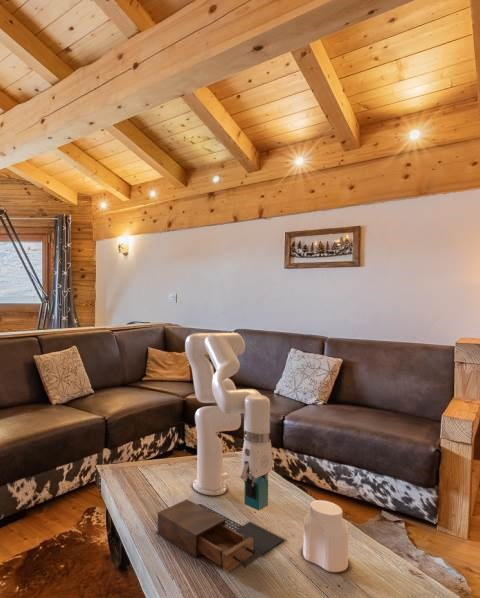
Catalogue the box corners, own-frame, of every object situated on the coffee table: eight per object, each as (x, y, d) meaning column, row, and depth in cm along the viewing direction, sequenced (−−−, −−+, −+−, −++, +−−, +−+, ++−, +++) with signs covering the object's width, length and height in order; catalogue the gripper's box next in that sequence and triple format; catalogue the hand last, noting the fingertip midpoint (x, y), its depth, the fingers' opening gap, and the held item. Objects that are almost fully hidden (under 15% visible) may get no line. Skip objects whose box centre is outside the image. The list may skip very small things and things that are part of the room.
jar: (353, 562, 120) (354, 510, 119) (337, 576, 114) (338, 521, 113) (313, 543, 129) (314, 494, 128) (297, 555, 123) (297, 504, 122)
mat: (249, 523, 139) (249, 522, 139) (284, 540, 130) (284, 539, 130) (227, 536, 132) (227, 535, 132) (261, 555, 123) (261, 554, 123)
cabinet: (225, 540, 130) (225, 519, 130) (195, 557, 122) (195, 535, 121) (186, 518, 142) (186, 499, 142) (157, 533, 134) (157, 512, 134)
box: (253, 499, 134) (254, 474, 134) (268, 505, 130) (268, 479, 130) (244, 504, 131) (244, 478, 131) (258, 510, 127) (259, 484, 127)
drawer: (266, 562, 118) (266, 545, 118) (239, 581, 111) (240, 563, 110) (212, 531, 133) (212, 516, 133) (185, 546, 125) (186, 530, 125)
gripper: (251, 445, 122) (250, 508, 122) (283, 433, 132) (282, 490, 133) (229, 438, 128) (229, 498, 128) (261, 427, 138) (261, 482, 139)
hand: (256, 493), depth 130 cm, fingers closed on box, 5 cm apart
